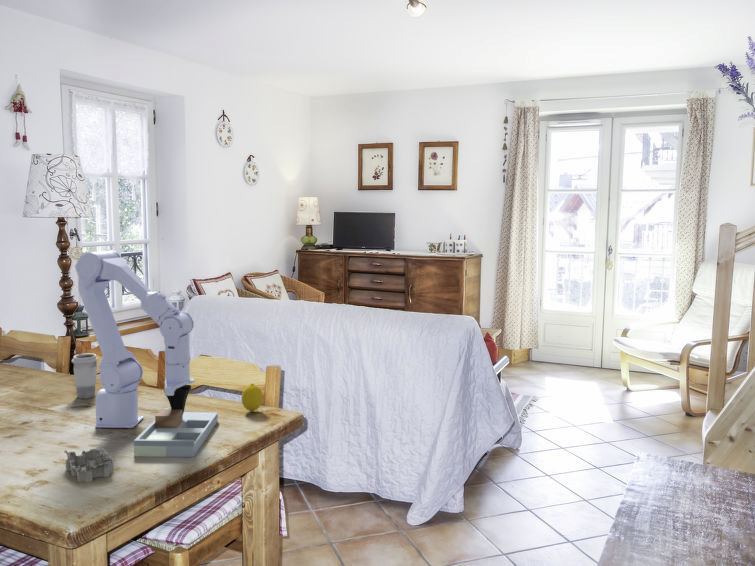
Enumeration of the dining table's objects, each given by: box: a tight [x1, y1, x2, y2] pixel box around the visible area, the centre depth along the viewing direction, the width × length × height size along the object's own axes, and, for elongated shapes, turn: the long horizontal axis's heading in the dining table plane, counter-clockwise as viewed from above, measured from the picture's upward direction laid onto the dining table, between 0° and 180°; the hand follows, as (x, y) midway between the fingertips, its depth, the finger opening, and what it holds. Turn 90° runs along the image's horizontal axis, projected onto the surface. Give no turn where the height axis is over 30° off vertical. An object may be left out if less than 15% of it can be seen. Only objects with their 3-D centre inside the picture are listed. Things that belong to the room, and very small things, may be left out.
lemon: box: [241, 383, 263, 413], centre depth 164 cm, size 6×6×8 cm
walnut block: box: [154, 408, 183, 428], centre depth 146 cm, size 5×5×3 cm
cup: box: [71, 352, 99, 400], centre depth 174 cm, size 7×7×12 cm
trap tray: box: [133, 406, 219, 458], centre depth 144 cm, size 13×23×4 cm, turn 2°
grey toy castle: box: [64, 446, 114, 483], centre depth 124 cm, size 11×8×4 cm
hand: (178, 415), depth 150 cm, fingers closed
